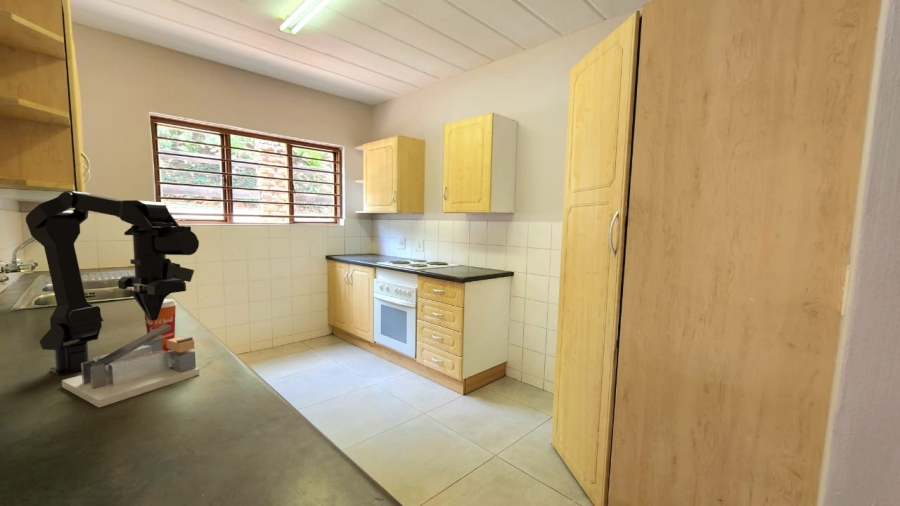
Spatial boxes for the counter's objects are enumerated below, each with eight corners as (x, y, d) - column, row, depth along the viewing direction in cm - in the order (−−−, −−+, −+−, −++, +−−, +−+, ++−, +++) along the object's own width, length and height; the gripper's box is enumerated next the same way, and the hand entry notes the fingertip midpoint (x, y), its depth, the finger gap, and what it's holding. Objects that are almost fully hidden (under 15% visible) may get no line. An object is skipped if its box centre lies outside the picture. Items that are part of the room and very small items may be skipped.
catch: (166, 348, 86) (166, 337, 86) (181, 344, 88) (180, 334, 88) (180, 352, 83) (179, 341, 83) (194, 348, 85) (194, 337, 85)
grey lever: (92, 367, 77) (90, 364, 77) (166, 326, 89) (164, 324, 89) (98, 370, 76) (95, 367, 76) (172, 328, 88) (170, 325, 88)
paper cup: (141, 355, 99) (138, 304, 98) (148, 347, 105) (146, 299, 104) (176, 351, 102) (174, 302, 101) (181, 343, 109) (179, 297, 108)
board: (62, 386, 79) (61, 380, 79) (159, 360, 95) (159, 355, 95) (98, 407, 70) (98, 400, 70) (199, 374, 86) (199, 368, 86)
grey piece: (72, 378, 80) (70, 356, 79) (159, 355, 94) (158, 336, 94) (106, 395, 72) (104, 371, 71) (195, 368, 86) (194, 347, 86)
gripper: (208, 254, 87) (211, 317, 88) (169, 251, 96) (172, 309, 97) (154, 257, 77) (157, 328, 78) (115, 254, 86) (119, 318, 87)
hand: (153, 320), depth 86 cm, fingers closed
